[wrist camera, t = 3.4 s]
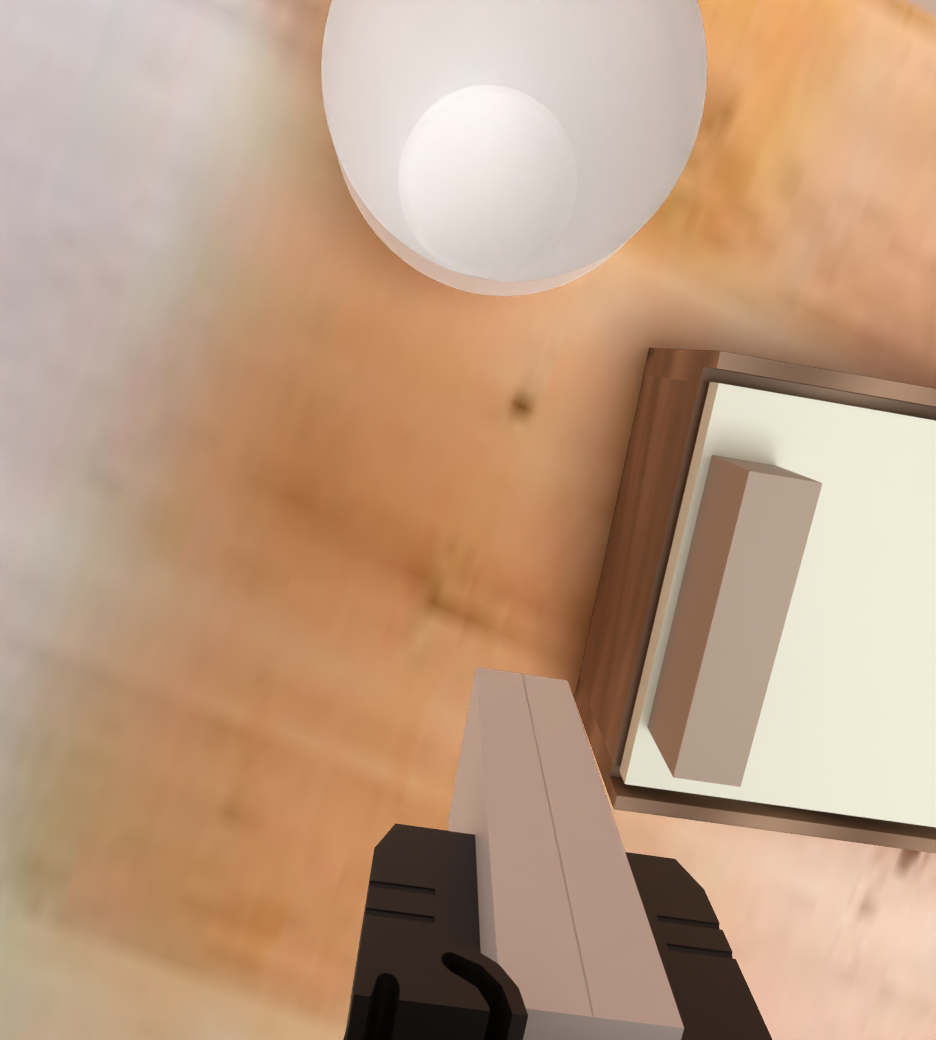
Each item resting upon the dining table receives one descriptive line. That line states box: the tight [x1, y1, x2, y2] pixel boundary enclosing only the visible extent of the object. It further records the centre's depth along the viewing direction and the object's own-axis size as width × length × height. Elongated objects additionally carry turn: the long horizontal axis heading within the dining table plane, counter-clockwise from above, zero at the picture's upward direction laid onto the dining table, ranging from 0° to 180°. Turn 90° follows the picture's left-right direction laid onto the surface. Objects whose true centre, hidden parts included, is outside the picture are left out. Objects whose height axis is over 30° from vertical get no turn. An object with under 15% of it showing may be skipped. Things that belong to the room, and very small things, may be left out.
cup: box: [321, 0, 707, 296], centre depth 24 cm, size 9×9×12 cm
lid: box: [620, 382, 936, 827], centre depth 24 cm, size 16×13×4 cm
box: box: [575, 348, 936, 853], centre depth 29 cm, size 16×15×8 cm
